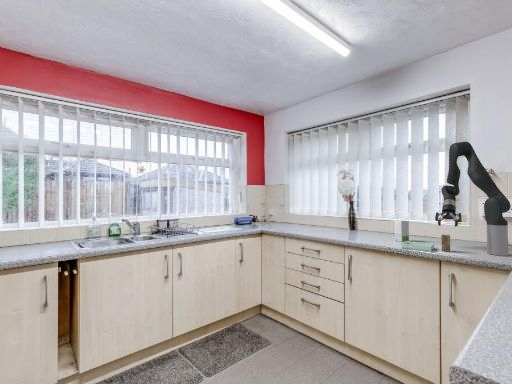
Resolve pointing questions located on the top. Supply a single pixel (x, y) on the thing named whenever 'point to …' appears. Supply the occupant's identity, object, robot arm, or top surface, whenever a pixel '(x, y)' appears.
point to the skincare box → (401, 230)
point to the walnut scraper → (445, 243)
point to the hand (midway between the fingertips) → (447, 225)
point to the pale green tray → (418, 246)
